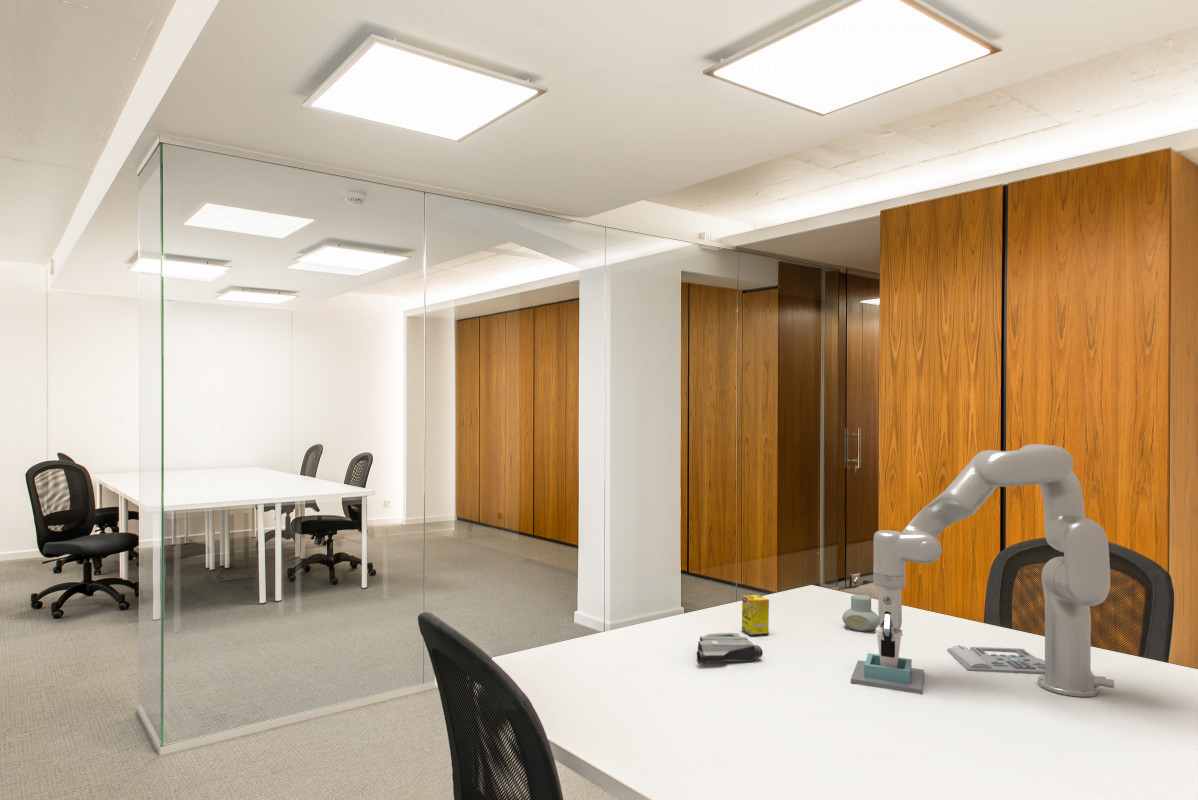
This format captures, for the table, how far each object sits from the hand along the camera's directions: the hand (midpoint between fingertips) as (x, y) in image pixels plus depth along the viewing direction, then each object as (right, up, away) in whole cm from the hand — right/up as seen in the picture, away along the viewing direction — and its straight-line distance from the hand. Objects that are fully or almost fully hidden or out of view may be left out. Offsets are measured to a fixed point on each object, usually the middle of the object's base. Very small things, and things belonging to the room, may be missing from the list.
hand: (888, 652), depth 190 cm
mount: (0, -6, 0) cm, 6 cm away
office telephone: (+36, -8, +15) cm, 39 cm away
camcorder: (-39, -7, +15) cm, 42 cm away
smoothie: (0, -4, 0) cm, 4 cm away
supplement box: (-26, -7, +37) cm, 46 cm away
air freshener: (+8, -8, +44) cm, 46 cm away
